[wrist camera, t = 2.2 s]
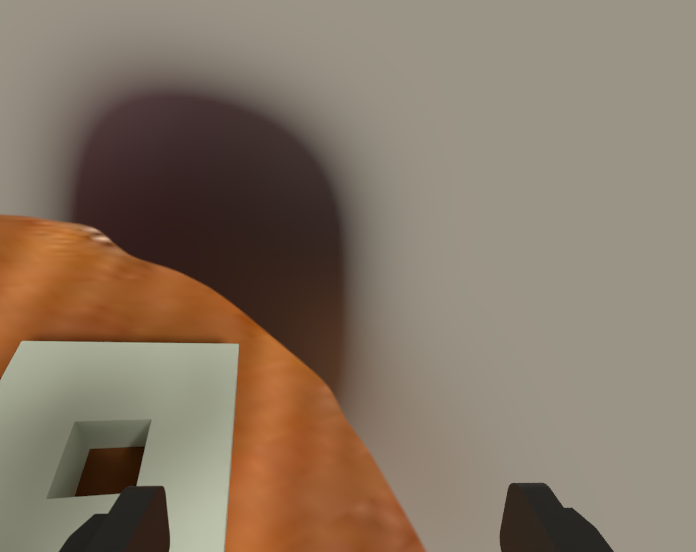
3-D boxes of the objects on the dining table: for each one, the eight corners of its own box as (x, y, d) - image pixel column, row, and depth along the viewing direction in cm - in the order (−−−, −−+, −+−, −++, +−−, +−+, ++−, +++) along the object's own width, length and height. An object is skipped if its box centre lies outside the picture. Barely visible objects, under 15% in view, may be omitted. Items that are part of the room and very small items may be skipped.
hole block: (-105, 677, 20) (-163, 674, 17) (40, 373, 33) (21, 341, 30) (219, 626, 24) (218, 617, 21) (237, 372, 37) (238, 343, 34)
